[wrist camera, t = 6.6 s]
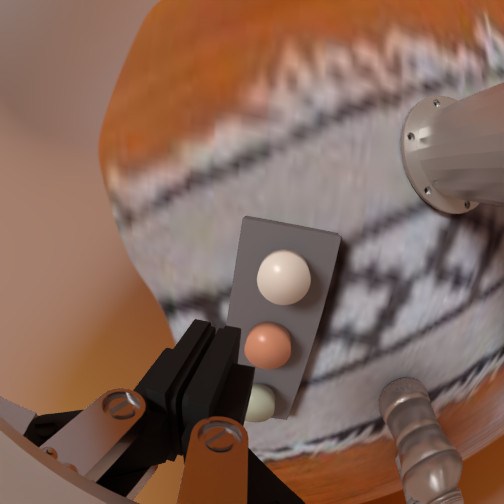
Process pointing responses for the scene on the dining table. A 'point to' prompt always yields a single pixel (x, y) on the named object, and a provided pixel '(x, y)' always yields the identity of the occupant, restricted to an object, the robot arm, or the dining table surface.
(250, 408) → the key sage
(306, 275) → the key cream
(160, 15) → the dining table surface
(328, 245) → the button board
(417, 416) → the plastic bottle
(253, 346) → the key terracotta
